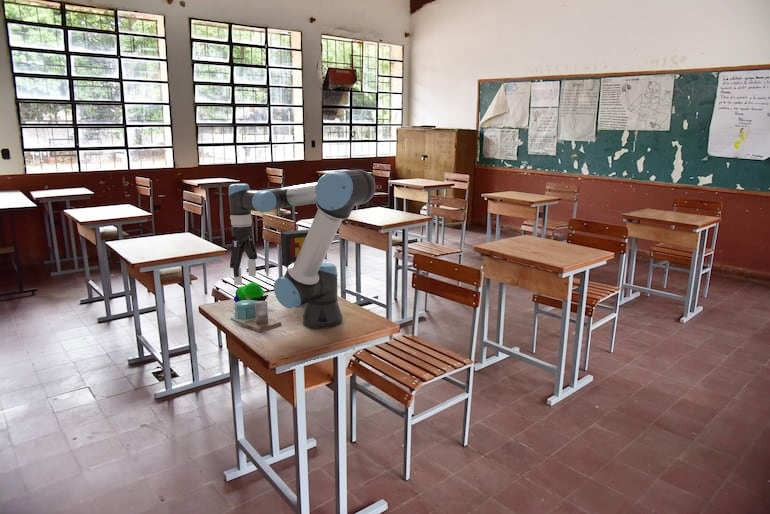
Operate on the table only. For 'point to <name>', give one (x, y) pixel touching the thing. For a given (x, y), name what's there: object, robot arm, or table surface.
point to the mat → (240, 319)
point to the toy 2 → (291, 245)
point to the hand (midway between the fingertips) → (245, 280)
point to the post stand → (261, 318)
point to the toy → (250, 293)
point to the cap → (245, 309)
